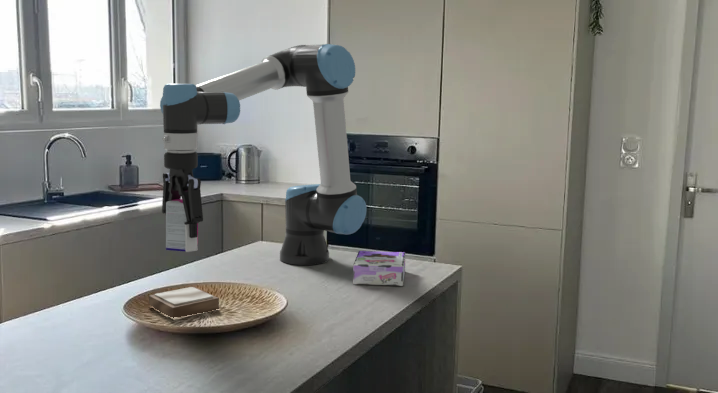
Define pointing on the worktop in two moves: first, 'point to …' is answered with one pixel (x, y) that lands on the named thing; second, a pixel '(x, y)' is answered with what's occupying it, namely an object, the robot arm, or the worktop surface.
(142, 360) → the worktop surface
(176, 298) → the stand
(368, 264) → the candy box
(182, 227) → the supplement box
